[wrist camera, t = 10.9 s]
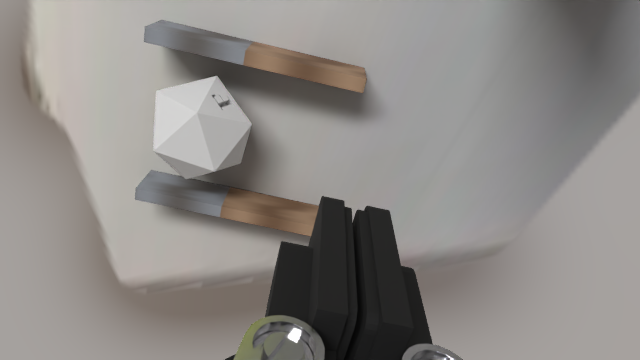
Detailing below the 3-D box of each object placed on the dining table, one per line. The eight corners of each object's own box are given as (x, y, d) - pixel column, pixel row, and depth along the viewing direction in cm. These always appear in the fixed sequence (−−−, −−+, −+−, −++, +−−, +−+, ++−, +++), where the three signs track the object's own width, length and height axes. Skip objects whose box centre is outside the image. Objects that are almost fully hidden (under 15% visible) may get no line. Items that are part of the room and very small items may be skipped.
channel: (364, 67, 41) (366, 79, 38) (323, 217, 48) (322, 238, 45) (161, 19, 40) (144, 26, 37) (150, 180, 47) (135, 199, 43)
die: (265, 151, 46) (273, 125, 37) (190, 202, 44) (179, 187, 35) (216, 85, 46) (213, 41, 37) (140, 132, 44) (115, 99, 35)
